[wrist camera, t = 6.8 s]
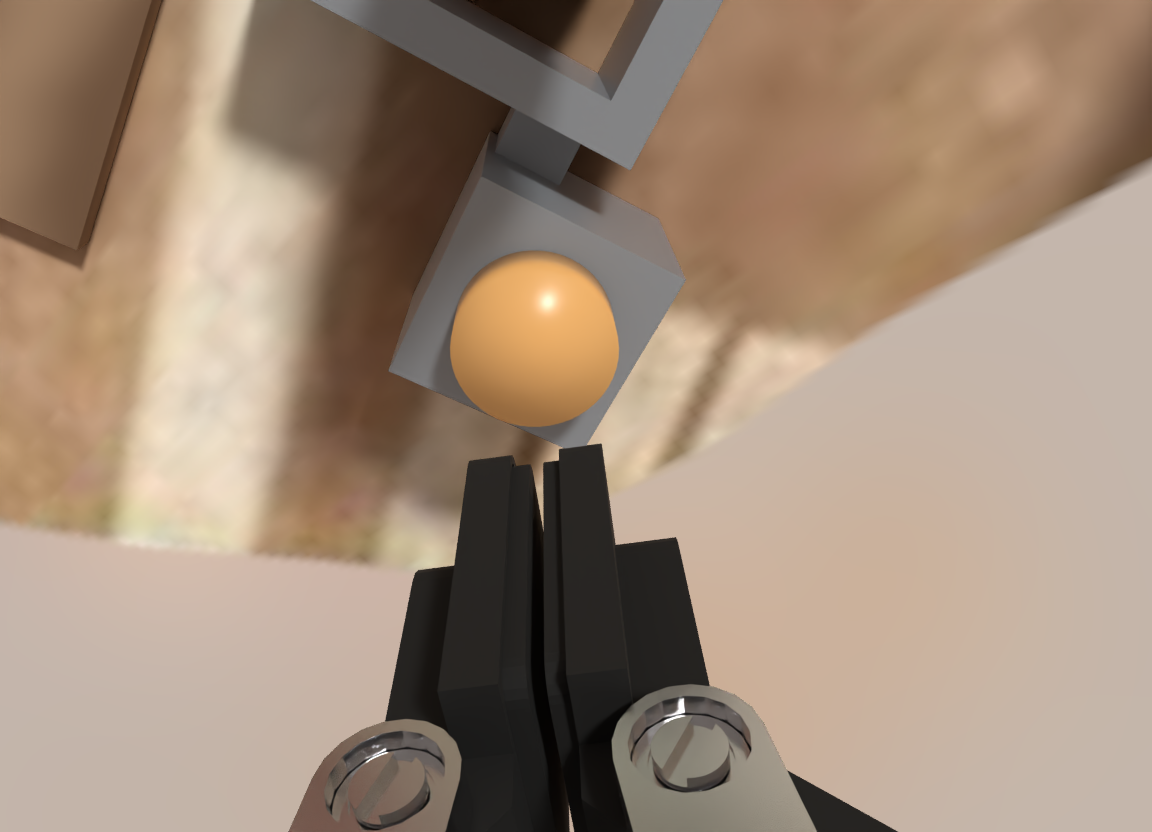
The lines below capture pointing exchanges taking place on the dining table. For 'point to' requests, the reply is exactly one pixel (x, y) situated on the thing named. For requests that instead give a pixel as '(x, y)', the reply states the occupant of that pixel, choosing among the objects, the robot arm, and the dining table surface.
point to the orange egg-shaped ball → (534, 339)
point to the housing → (545, 171)
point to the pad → (65, 106)
